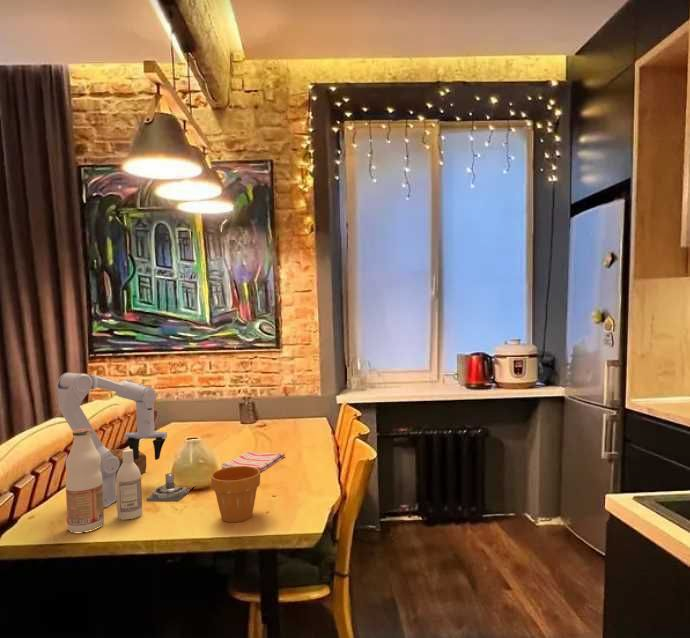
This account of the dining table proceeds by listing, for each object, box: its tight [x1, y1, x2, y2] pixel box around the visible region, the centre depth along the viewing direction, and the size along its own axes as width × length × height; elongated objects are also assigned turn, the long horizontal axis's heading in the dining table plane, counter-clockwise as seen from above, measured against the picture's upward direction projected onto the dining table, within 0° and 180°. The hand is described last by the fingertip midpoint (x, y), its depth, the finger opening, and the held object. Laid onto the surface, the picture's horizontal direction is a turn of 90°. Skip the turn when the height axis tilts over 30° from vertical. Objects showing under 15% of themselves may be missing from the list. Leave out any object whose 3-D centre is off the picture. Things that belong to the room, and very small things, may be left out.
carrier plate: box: [145, 483, 191, 502], centre depth 175 cm, size 15×11×4 cm
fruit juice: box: [65, 429, 105, 532], centre depth 148 cm, size 9×9×28 cm
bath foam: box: [116, 448, 143, 520], centre depth 155 cm, size 7×7×20 cm
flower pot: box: [210, 466, 261, 523], centre depth 153 cm, size 14×14×13 cm
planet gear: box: [159, 472, 181, 494], centre depth 174 cm, size 7×7×6 cm
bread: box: [108, 448, 147, 476], centre depth 197 cm, size 19×11×10 cm, turn 84°
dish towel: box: [221, 451, 286, 473], centre depth 207 cm, size 17×23×4 cm
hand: (146, 459), depth 182 cm, fingers open, 7 cm apart
